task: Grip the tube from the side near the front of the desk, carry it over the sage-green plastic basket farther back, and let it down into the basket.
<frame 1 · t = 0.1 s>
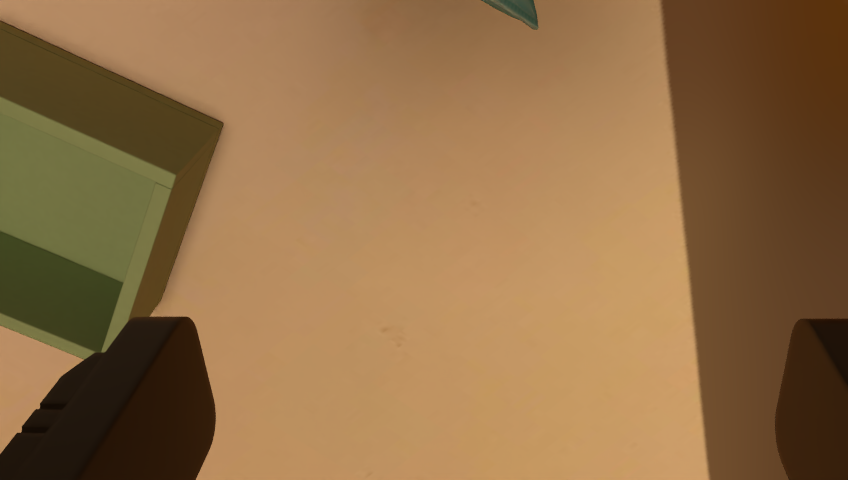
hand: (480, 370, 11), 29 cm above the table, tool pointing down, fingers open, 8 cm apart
basket: (83, 170, 43), on the table
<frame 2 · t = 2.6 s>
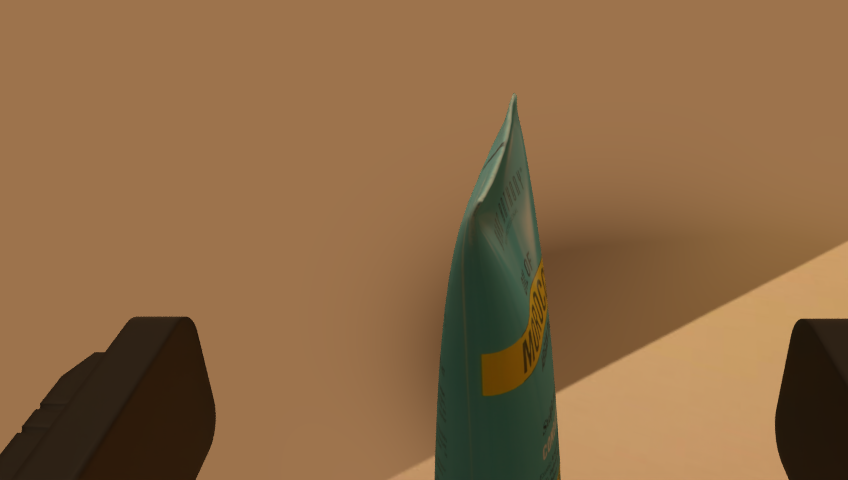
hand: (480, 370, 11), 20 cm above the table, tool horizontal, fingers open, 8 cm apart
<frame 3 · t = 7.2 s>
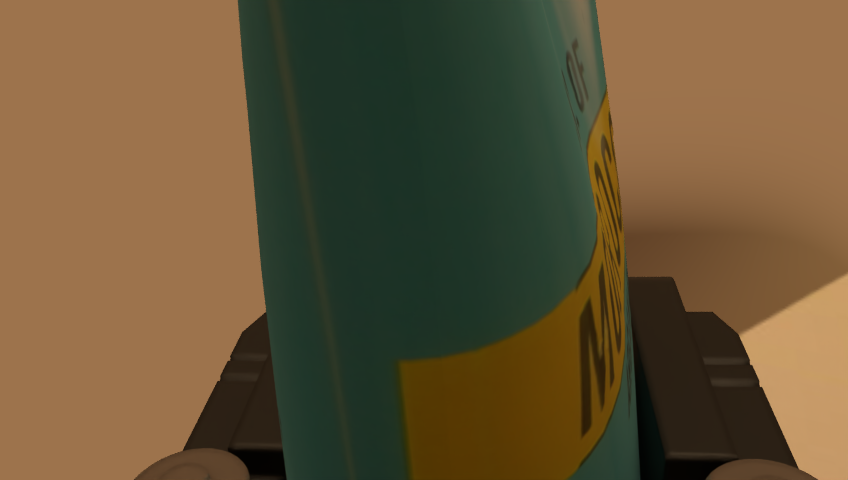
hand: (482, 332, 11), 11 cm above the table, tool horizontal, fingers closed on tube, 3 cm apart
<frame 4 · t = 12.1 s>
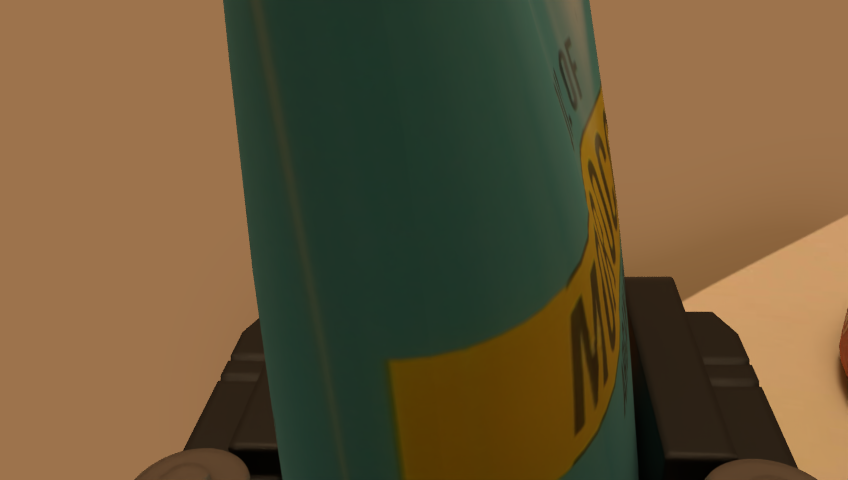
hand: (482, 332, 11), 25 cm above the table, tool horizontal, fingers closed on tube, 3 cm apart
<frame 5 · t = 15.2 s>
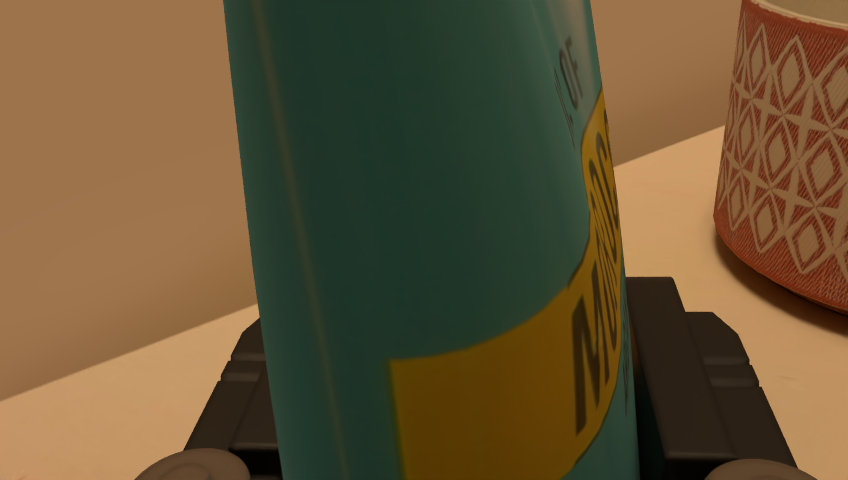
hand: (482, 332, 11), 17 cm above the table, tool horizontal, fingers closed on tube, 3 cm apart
when the fingers open (11 cm above the table, at t = 17.2 s): tube stays where it is, resting on basket.
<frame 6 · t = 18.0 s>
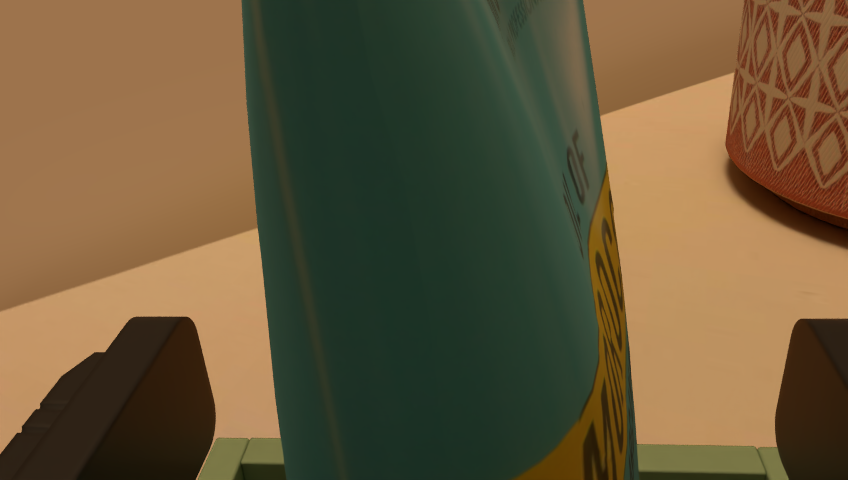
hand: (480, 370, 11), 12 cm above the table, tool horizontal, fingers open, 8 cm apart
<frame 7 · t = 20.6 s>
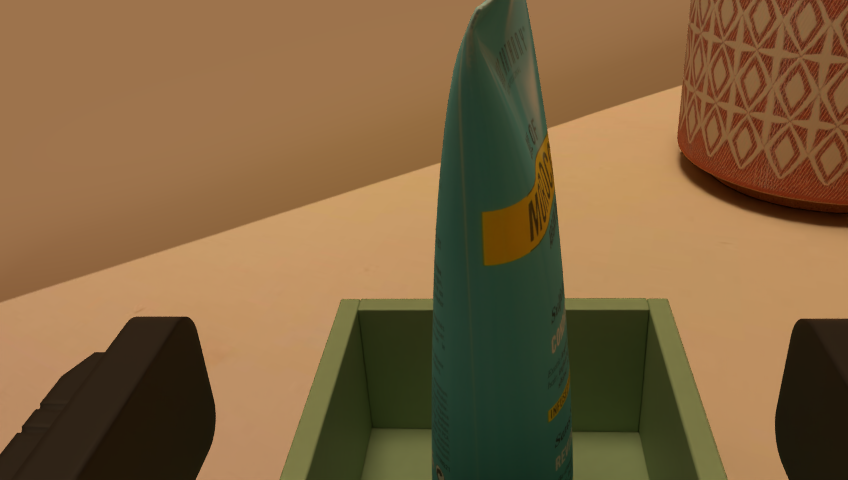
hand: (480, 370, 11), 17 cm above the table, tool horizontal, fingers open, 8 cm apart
planter: (816, 168, 55), on the table
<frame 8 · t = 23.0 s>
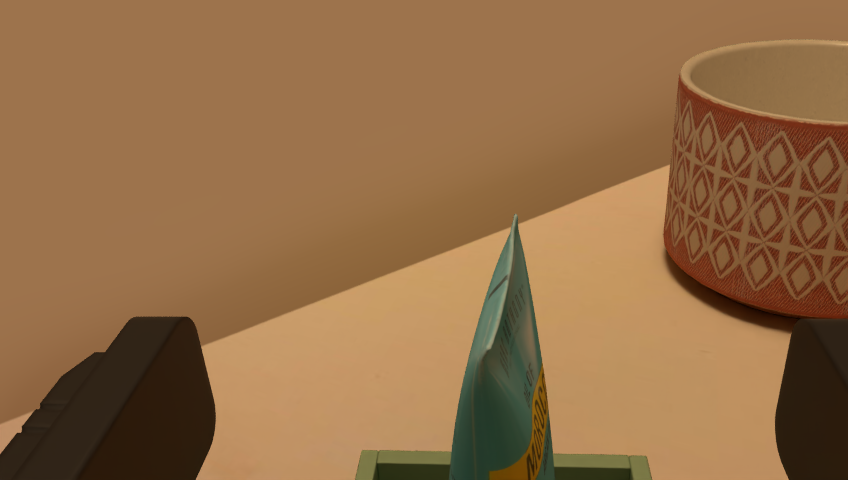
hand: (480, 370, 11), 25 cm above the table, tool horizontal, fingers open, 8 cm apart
planter: (791, 266, 60), on the table
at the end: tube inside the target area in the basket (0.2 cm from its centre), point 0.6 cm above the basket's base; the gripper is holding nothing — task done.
